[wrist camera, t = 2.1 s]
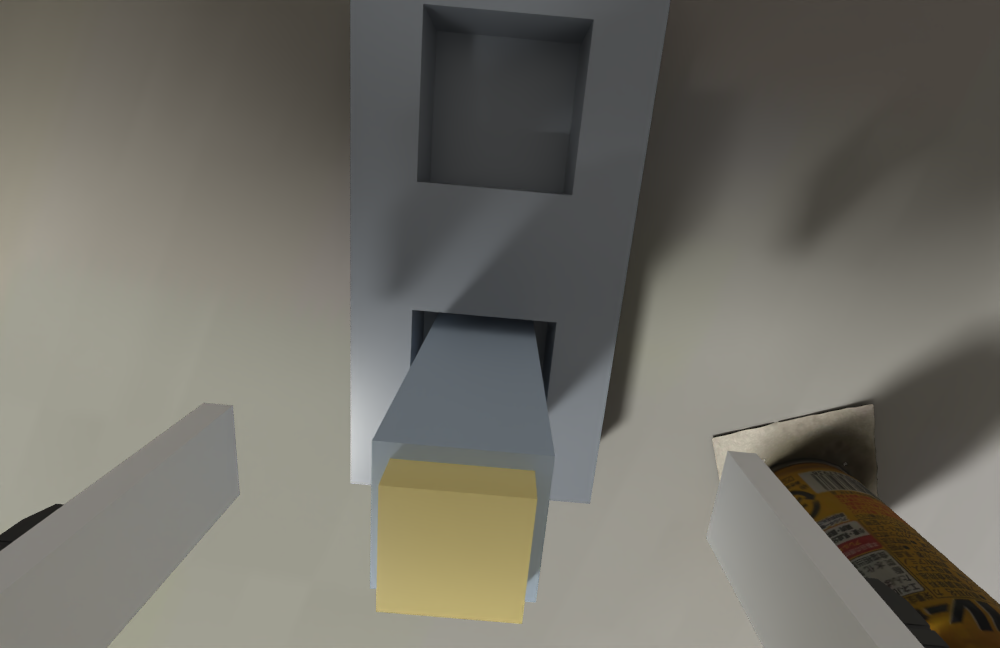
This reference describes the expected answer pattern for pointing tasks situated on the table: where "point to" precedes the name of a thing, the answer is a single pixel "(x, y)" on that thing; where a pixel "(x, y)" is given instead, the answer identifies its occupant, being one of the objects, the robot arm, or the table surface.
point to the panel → (497, 192)
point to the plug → (463, 475)
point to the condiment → (868, 518)
